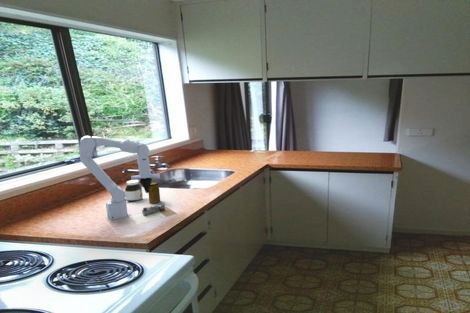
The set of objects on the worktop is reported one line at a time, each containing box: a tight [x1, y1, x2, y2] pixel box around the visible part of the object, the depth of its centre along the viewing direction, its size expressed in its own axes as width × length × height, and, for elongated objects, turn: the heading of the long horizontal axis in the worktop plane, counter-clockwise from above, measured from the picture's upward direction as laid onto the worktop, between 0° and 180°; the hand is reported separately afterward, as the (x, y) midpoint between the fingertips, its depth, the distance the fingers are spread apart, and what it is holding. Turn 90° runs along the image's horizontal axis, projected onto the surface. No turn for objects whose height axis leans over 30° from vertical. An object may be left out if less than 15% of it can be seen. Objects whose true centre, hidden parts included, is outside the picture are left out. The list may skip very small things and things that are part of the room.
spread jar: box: [124, 179, 143, 203], centre depth 188 cm, size 12×11×12 cm
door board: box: [129, 206, 178, 225], centre depth 160 cm, size 20×13×1 cm, turn 125°
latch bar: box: [141, 203, 165, 216], centre depth 163 cm, size 12×3×3 cm, turn 130°
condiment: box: [147, 181, 161, 205], centre depth 179 cm, size 7×8×12 cm
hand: (147, 192), depth 167 cm, fingers closed
